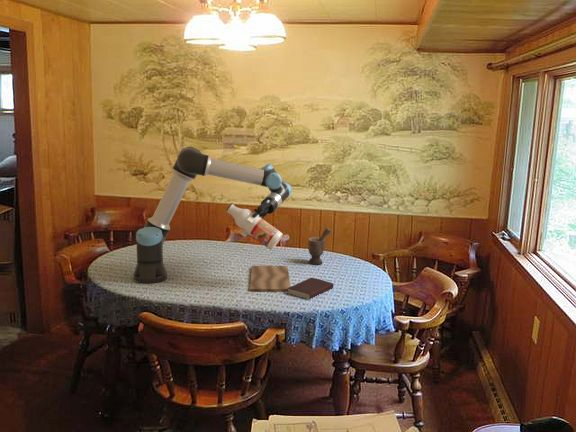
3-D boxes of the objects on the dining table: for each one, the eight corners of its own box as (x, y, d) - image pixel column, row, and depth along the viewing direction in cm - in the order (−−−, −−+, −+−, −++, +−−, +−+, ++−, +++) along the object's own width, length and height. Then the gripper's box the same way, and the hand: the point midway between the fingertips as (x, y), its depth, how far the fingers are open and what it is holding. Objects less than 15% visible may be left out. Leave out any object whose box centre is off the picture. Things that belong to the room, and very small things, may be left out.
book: (333, 289, 243) (333, 282, 242) (310, 300, 227) (310, 293, 227) (310, 283, 250) (310, 277, 249) (286, 294, 234) (286, 287, 234)
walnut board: (250, 291, 235) (250, 288, 235) (251, 267, 271) (251, 265, 270) (290, 291, 236) (291, 289, 236) (287, 268, 272) (287, 265, 271)
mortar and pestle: (330, 262, 285) (331, 225, 281) (328, 266, 276) (330, 229, 272) (308, 260, 286) (310, 224, 283) (306, 265, 278) (307, 227, 274)
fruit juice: (283, 231, 240) (234, 196, 243) (271, 247, 237) (221, 211, 241) (283, 236, 249) (235, 202, 252) (271, 252, 246) (222, 217, 250)
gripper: (284, 192, 249) (259, 218, 234) (270, 222, 265) (245, 247, 249) (271, 183, 250) (246, 208, 235) (258, 213, 266) (232, 238, 250)
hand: (245, 228), depth 242 cm, fingers closed on fruit juice, 9 cm apart
